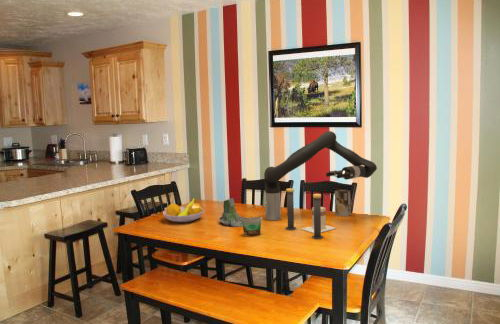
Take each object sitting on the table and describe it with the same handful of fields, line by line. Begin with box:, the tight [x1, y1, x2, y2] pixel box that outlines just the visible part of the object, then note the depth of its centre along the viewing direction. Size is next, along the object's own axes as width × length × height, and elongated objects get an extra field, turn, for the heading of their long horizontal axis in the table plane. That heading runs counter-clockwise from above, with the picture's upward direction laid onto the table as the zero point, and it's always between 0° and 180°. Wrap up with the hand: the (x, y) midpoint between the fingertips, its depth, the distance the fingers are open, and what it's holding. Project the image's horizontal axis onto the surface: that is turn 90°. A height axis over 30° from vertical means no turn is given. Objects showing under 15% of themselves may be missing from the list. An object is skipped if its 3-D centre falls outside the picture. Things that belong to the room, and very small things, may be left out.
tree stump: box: [219, 197, 247, 228], centre depth 259 cm, size 18×20×18 cm
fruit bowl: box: [162, 197, 205, 223], centre depth 271 cm, size 28×27×11 cm
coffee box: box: [334, 189, 352, 217], centre depth 270 cm, size 9×6×16 cm
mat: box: [301, 224, 337, 234], centre depth 240 cm, size 12×16×1 cm
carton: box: [311, 206, 327, 230], centre depth 239 cm, size 6×6×12 cm
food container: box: [241, 215, 263, 237], centre depth 232 cm, size 12×6×10 cm, turn 105°
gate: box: [285, 188, 324, 240], centre depth 232 cm, size 28×6×24 cm, turn 35°
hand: (331, 175), depth 243 cm, fingers open, 8 cm apart
